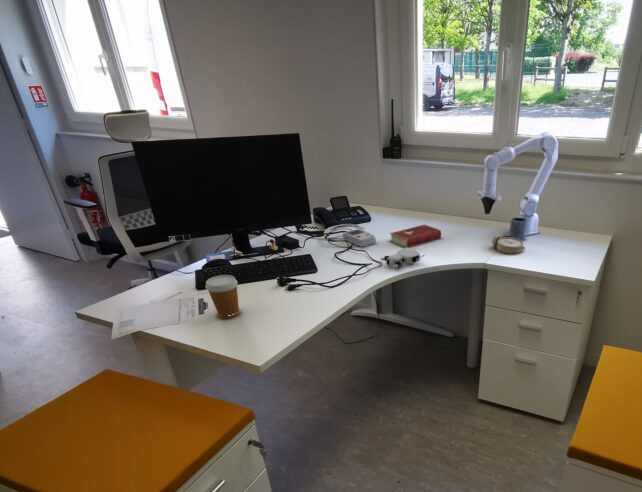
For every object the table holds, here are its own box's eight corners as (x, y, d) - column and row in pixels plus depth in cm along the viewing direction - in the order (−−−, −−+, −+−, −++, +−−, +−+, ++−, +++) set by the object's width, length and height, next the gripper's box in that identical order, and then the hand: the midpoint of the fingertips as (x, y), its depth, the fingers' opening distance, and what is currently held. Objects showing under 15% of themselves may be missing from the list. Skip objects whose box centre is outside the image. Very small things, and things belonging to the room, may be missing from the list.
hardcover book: (441, 238, 213) (441, 229, 211) (406, 248, 202) (406, 239, 200) (424, 232, 221) (424, 223, 219) (390, 241, 210) (390, 232, 207)
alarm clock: (511, 249, 192) (487, 234, 200) (508, 259, 195) (485, 244, 203) (529, 244, 197) (505, 229, 206) (526, 254, 200) (502, 239, 209)
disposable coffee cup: (218, 308, 152) (209, 275, 146) (247, 307, 153) (239, 274, 147) (209, 321, 144) (200, 287, 138) (240, 320, 145) (232, 286, 139)
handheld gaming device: (361, 248, 202) (361, 239, 200) (343, 240, 212) (342, 231, 210) (377, 244, 207) (377, 235, 205) (358, 236, 217) (358, 228, 215)
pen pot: (516, 235, 217) (519, 216, 212) (527, 239, 212) (530, 220, 207) (505, 238, 214) (507, 218, 209) (516, 242, 208) (518, 222, 204)
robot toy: (396, 274, 179) (426, 263, 186) (395, 263, 176) (425, 252, 183) (379, 265, 187) (408, 254, 194) (378, 254, 185) (407, 244, 191)
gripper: (472, 181, 211) (471, 211, 218) (493, 187, 201) (491, 218, 208) (484, 180, 214) (482, 209, 221) (505, 185, 204) (502, 216, 211)
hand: (487, 213), depth 215 cm, fingers closed
